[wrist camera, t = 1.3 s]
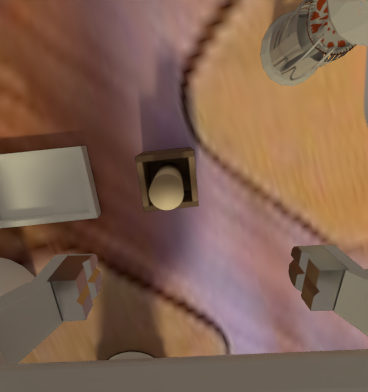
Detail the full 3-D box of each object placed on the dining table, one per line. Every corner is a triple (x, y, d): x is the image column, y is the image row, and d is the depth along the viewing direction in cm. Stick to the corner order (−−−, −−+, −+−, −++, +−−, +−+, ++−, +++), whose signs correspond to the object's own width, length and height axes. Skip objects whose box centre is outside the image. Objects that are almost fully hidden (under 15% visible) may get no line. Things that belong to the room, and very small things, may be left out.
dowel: (182, 184, 37) (185, 208, 25) (159, 186, 37) (151, 211, 25) (179, 160, 35) (182, 174, 24) (155, 163, 35) (146, 178, 24)
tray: (101, 213, 38) (97, 217, 37) (0, 224, 38) (-9, 229, 36) (85, 145, 35) (80, 146, 33) (-25, 156, 35) (-37, 158, 33)
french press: (338, 43, 32) (812, -217, 8) (284, 109, 35) (530, 57, 11) (292, -7, 30) (739, -535, 6) (239, 67, 33) (414, -111, 9)
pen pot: (194, 193, 38) (198, 206, 31) (149, 197, 38) (144, 211, 31) (190, 147, 36) (193, 150, 29) (142, 152, 36) (135, 156, 29)
